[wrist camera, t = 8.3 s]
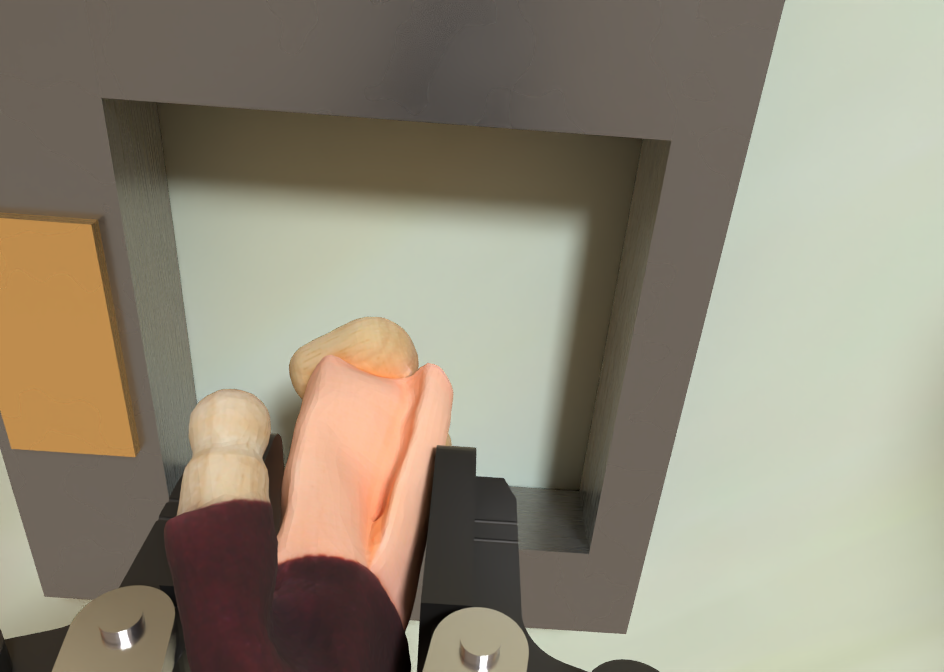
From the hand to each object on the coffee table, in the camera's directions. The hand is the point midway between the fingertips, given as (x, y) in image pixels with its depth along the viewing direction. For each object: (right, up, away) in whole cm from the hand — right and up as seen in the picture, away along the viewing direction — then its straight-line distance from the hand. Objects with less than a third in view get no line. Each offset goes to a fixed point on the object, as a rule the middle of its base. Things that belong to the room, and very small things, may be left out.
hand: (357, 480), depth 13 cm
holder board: (-1, +3, +6) cm, 7 cm away
